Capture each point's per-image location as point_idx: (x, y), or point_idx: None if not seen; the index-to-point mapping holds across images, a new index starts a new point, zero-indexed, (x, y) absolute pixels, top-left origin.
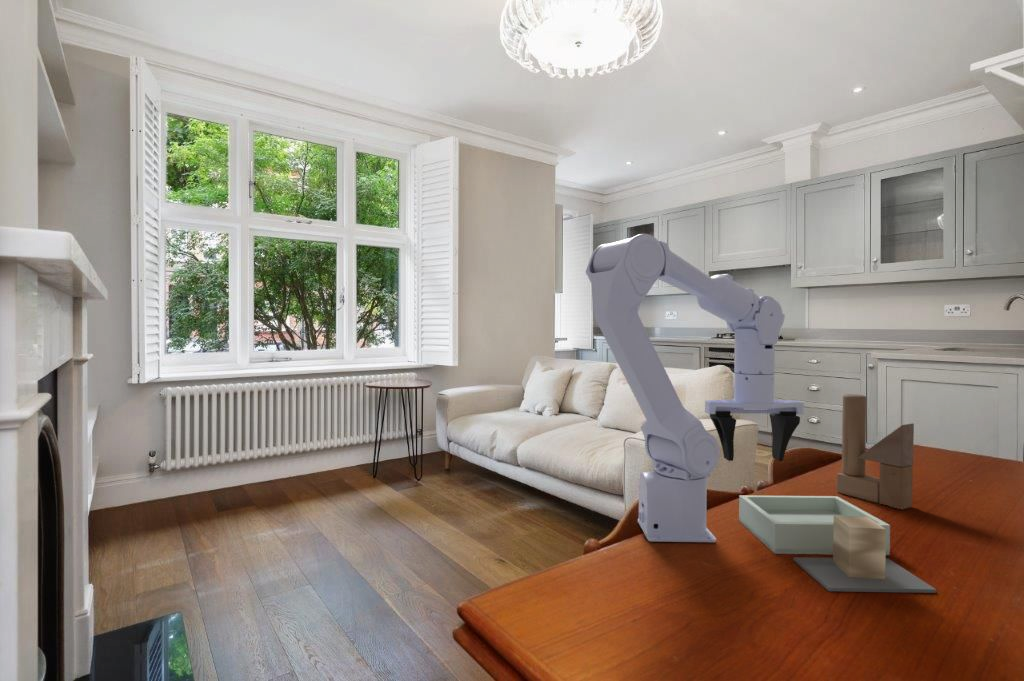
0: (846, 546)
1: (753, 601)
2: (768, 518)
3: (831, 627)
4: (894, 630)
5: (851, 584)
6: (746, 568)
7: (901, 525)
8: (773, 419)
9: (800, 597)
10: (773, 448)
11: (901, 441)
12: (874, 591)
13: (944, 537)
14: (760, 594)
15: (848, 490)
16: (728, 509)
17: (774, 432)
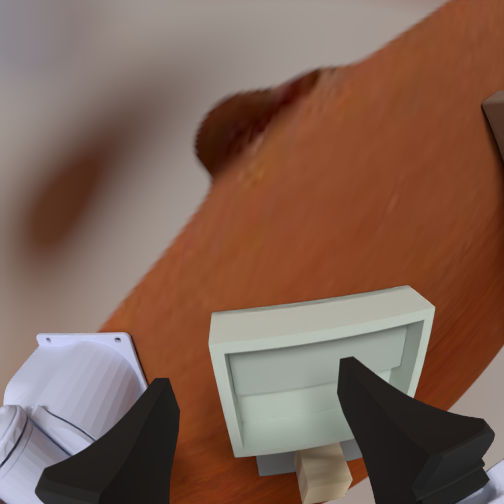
0: (299, 482)
1: (182, 485)
2: (232, 443)
3: (234, 499)
4: (280, 496)
5: (286, 469)
6: (186, 451)
7: (480, 280)
8: (407, 468)
9: (227, 481)
10: (352, 382)
11: None
12: None
13: (489, 316)
14: (191, 479)
15: (496, 126)
16: (206, 238)
17: (380, 430)
